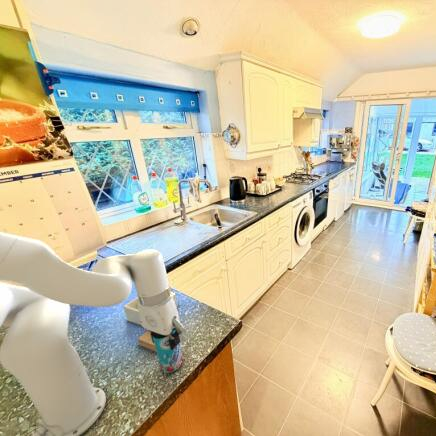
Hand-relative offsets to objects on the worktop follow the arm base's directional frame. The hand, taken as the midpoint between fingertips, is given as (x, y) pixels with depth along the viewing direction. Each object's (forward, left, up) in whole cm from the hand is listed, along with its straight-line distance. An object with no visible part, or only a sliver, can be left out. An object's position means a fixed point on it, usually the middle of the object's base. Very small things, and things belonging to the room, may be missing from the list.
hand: (166, 342), depth 70 cm
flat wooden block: (+7, +12, -10) cm, 17 cm away
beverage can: (0, 0, -10) cm, 10 cm away
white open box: (+15, +24, -10) cm, 30 cm away
